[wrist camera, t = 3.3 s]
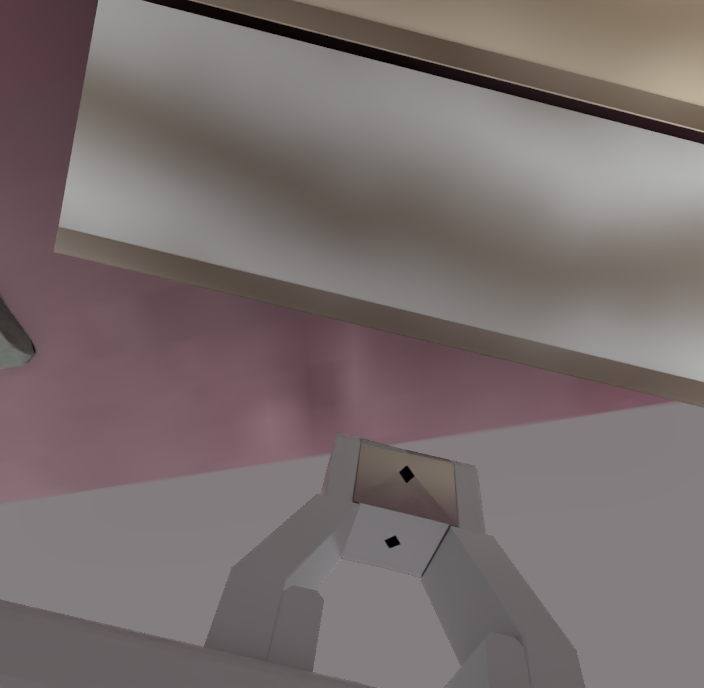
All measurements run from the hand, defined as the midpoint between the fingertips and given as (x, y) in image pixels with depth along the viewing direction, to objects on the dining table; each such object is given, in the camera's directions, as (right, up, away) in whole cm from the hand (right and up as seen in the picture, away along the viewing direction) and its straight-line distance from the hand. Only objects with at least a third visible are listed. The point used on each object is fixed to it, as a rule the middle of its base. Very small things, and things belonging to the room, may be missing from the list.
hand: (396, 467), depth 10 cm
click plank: (+1, +7, +7) cm, 10 cm away
